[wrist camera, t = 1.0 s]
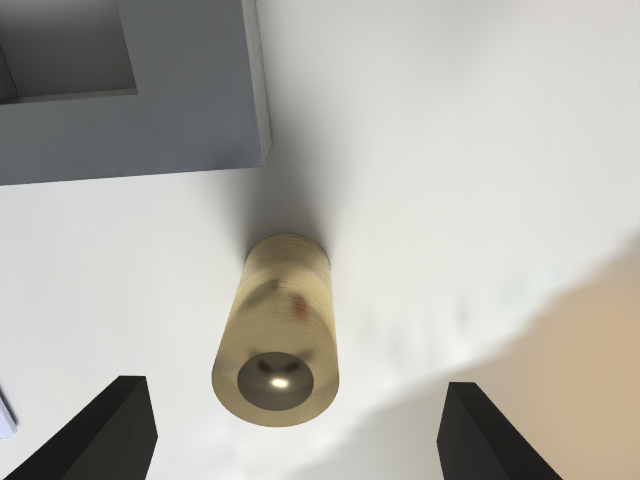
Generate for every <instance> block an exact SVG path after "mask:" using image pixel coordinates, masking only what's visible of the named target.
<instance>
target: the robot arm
mask: <svg viewBox="0 0 640 480" xmlns="http://www.w3.org/2000/svg"><path fill="white" fill-rule="evenodd" d="M16 432H17V427H16V425H15V423H14V421H13V420H12V418H11V416H10V414H9V412H8V410H7V408H6V407H5V405H4V403H3V401H2V399H1V397H0V439H9V438H12V437H13V436H14V435H15V433H16ZM157 438H158V435H157V430H156V425H155V420H154V415H153V410H152V405H151V400H150V395H149V391H148V386H147V381H146V376H119V377H118V378H116V379H115V380H114V381H113V382H112V383H111V384H110V385H109V386H107V387H106V388H105V389H104V390H103V391H102V392H101V393H100V394H99V395H98V396H97V397H95V398H94V399H93V400H92V401H91V402H90V403H89V404H88V405H87V406H86V407H85V408H84V409H82V410H81V411H80V412H79V413H78V414H77V415H76V416H75V417H74V418H73V419H72V420H70V421H69V422H68V423H67V424H66V425H65V426H64V427H63V428H62V429H61V430H59V431H58V432H57V433H56V434H55V435H54V436H53V437H52V438H50V439H49V440H48V441H47V442H46V443H45V444H44V445H43V446H42V447H40V448H39V449H38V450H37V451H36V452H35V453H34V454H33V455H31V456H30V457H29V458H28V459H27V460H26V461H24V462H23V463H22V464H21V465H20V466H19V467H17V468H16V469H15V470H14V471H13V472H11V473H10V474H9V475H8V476H7V477H5V478H4V479H3V480H145V478H146V475H147V472H148V469H149V466H150V462H151V459H152V456H153V452H154V449H155V445H156V442H157ZM437 447H438V452H439V456H440V462H441V467H442V471H443V476H444V480H563V479H562V478H561V477H560V476H559V475H558V474H557V473H556V472H555V471H554V470H553V469H552V468H551V467H550V466H549V465H548V463H547V462H546V461H545V460H544V459H543V458H542V457H541V456H540V455H539V454H538V453H537V452H536V451H535V450H534V448H532V446H531V445H530V444H529V443H528V442H527V441H526V440H525V439H524V437H522V435H521V434H520V433H519V432H518V431H517V430H516V429H515V427H514V426H513V425H512V424H511V423H510V422H509V421H508V420H507V418H506V417H505V416H504V415H503V414H502V413H501V412H500V411H499V409H498V408H497V407H496V406H495V405H494V404H493V402H492V401H491V400H490V399H489V398H488V397H487V395H486V394H485V393H484V392H483V391H482V390H481V389H480V388H479V386H477V384H476V383H473V382H449V386H448V391H447V395H446V400H445V405H444V409H443V414H442V419H441V423H440V428H439V433H438V437H437Z"/></svg>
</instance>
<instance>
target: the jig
mask: <svg viewBox="0 0 640 480" xmlns="http://www.w3.org/2000/svg"><path fill="white" fill-rule="evenodd" d="M115 1H116V5H117V9H118V13H119V17H120V21H121V25H122V29H123V34H124V38H125V42H126V46H127V50H128V54H129V58H130V62H131V66H132V70H133V75H134V79H135V83H136V87H137V88H131V89H118V90H105V91H92V92H79V93H65V94H52V95H39V96H26V97H18V94H17V91H16V89H15V86H14V83H13V80H12V78H11V75H10V72H9V69H8V66H7V64H6V61H5V58H4V55H3V53H2V50H1V47H0V186H3V185H17V184H31V183H44V182H58V181H72V180H85V179H99V178H113V177H127V176H140V175H154V174H168V173H181V172H195V171H209V170H223V169H236V168H250V167H263V166H264V163H265V161H266V159H267V156H268V154H269V151H270V149H271V147H272V135H271V127H270V119H269V110H268V102H267V93H266V85H265V76H264V68H263V59H262V51H261V42H260V34H259V25H258V17H257V8H256V0H115Z"/></svg>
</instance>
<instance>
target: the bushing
mask: <svg viewBox="0 0 640 480" xmlns="http://www.w3.org/2000/svg"><path fill="white" fill-rule="evenodd" d="M212 385H213V389H214V392H215V394H216V396H217V398H218V399H219V401H220V402H221V404H222V405H223V406H224V407H225V408H226V409H227V410H228V411H230V412H231V413H232V414H234V415H235V416H237V417H239V418H241V419H243V420H244V421H247V422H250V423H253V424H256V425H260V426H266V427H288V426H294V425H298V424H301V423H305V422H307V421H309V420H312V419H313V418H315V417H317V416H318V415H320V414H321V413H322V412H324V411H325V410H326V409H327V408H328V407H329V406H330V404H331V403H332V402H333V400H334V398H335V396H336V394H337V391H338V387H339V369H338V357H337V345H336V333H335V321H334V309H333V297H332V285H331V273H330V264H329V261H328V258H327V256H326V254H325V253H324V251H323V250H322V249H321V248H320V246H319V245H317V244H316V243H315V242H314V241H312V240H310V239H308V238H307V237H304V236H301V235H297V234H291V233H282V234H276V235H272V236H269V237H267V238H265V239H263V240H261V241H260V242H259V243H257V244H256V245H255V246H254V247H253V249H252V250H251V251H250V253H249V255H248V257H247V260H246V263H245V266H244V269H243V272H242V276H241V279H240V282H239V285H238V288H237V292H236V295H235V298H234V301H233V304H232V308H231V311H230V314H229V317H228V321H227V324H226V327H225V330H224V333H223V337H222V340H221V343H220V346H219V350H218V353H217V356H216V359H215V362H214V366H213V370H212Z"/></svg>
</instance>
